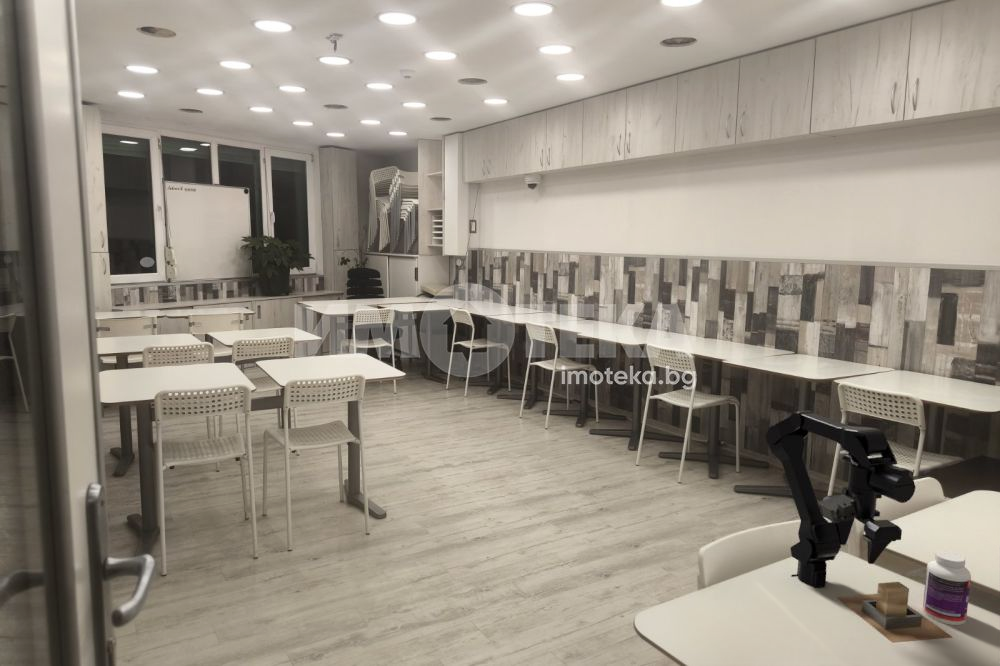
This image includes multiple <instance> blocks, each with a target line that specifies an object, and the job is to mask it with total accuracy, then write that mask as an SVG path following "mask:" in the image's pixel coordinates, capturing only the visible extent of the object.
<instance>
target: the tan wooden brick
mask: <svg viewBox="0 0 1000 666" xmlns="http://www.w3.org/2000/svg"><path fill="white" fill-rule="evenodd" d="M876 592H877V593H876V594H877V601H876V609H877V610H878V611H880V612H881V613H882V614H884V615H885V616H886V617H893V616H906V613H907V605H909V604H908V602H909V592H910V588H909V587H907V586H906V585H905V584H903V583H902V582H900V581H891V582H889V581H888V582H880V583H879V582H878V583H877V591H876Z"/></svg>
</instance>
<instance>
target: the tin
mask: <svg viewBox="0 0 1000 666" xmlns="http://www.w3.org/2000/svg"><path fill="white" fill-rule="evenodd" d="M876 601H877V600H864V601H862V610H861V611H862V612H864V613H865V614H866V615H867V616H869V617H870V618H871V619H872V620H874V621H875V622H876V623H877V624H879V625H880V626H881V627H882V628H884V629H885V630H888V629H900V628H913V627H921V621H922V616H921V615H922V614H921V613H920V614H921V615H920V614H918V613H917V612H918V611H917V612H915V611H914V610H915V609H914V608H913V609H914V610H913V609H911V608H910V607H911V606H910V607H908V606H907V613H906V616H893V617H886V616H885V615H884V614H882V613H881V612H880V611H878V610H877V609H876Z"/></svg>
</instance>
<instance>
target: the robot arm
mask: <svg viewBox="0 0 1000 666" xmlns="http://www.w3.org/2000/svg"><path fill="white" fill-rule="evenodd" d="M811 433H812V434H815V435H816V436H819V437H822V438H825V439H828V440H830V441H833V442H835V443H837V444H839V445H840V447H841V448H842V450H843V451H845V452H846V453H847V454H845V455H843V456H842V457H841V458H842V460H843V461H844V462H845V461H846V462H848V463H849V471H848V473H849V474H848V479H847V480H848V481H847V482H848V483H847V486H843V487H842V489H841V493H840V494H838V495H834V494H833V495H826V496H825V497H824V498H823V499H822V501H821V502H820V505H819V502H818V499H817V496H816V492H815V489H814V488H813V485H812V481H811V478H810V475H809V472H808V468H807V467H806V463H805V461H804V453H805V448H806V443H805V439H806V438H807V437H808V436H809V435H810V434H811ZM765 440H766V443H767V445H768V447H769V449H770V452H771V453H772V455H774V456H775V458H776V459H778V460H779V461H780V462H781V464H782V467H783V471H784V473H785V477H786V480H787V483H788V485H789V486H788V487H789V489H790V492H791V495H792V498H793V501H794V504H795V507H796V510H797V513H798V516H799V519H800V523H799V529H798V531H797V532H798V533H797V535H798V539H799V541H798V542H796V543H795V544H793V545H792V546H790V549H789V550H790V553H791V557H792V558H793V559H795V560H797V572H796V573H797V574H796V573H795V574H791V575H790V577H793V578H794V577H795V578H796V577H797V579H798V581H799V582H800V583H803V584H805V585H808V586H810V587H813V589H819V588H822V589H823V588H826V584H827V583H826V581H827V566H828V565H827V564H828V563H826V562H828V561H834V560H835V559H836V556H837V555H838V554H839V553H840V549H842V548H841V547H842V546H845V545H847V541H849V537H850V534H851V531H852V527H853V525H854V521H855V520H857V521H858V522H860V523H861V524H863V525H864V526H863V531H864V534H862V536H863V538H864V539H865V540H866V541H867V555H866V556H867V563H868V564H869V565H873V564H874V563H876V561H877V560H878V559H879V557H880V556H881V554H882V553H883V552H884V550H886V548H887V547H888V546H889V545H890V544H891V543H893V542H896V541H901V540H902V534H903V530H902V528H901V527H900V526H899V525H897V524H895V523H894V522H892V521H890V520H888V519H875V517H876V518H877V517H880V516H881V511H879V510H877V500H878V499H882V497H883V496H884V497H886V498H889V499H891V500H893V501H895V502H897V503H901V504H904V503H907V502H908V501H911V499H912V498H913V497H914V494H915V492H916V485H915V481H914V479H913V477H912V476H910V470H909V469H907V468H904V467H899V466H897V465H898V461H897V459H896V457H895V454H894V452H893V450H892V448H891V446H890V443H889V441H888V439H887V436H886V434H885V432H884V431H883V430H881V429H879V428H875V427H868V426H854V425H853V426H852V425H849V424H845V423H843V422H840V421H837V420H834V419H831V418H829V417H825V416H822V415H820V414H817V413H815V412H814V411H812V410H799V411H795V412H793V413H792V414H790V415H789V416H788V417H786V418H785V419H783V420H781V421H778V422H777V423H775V424H774V425H771V426H769V427H768V429H767V430H766V433H765ZM874 456H876V457H874ZM826 518H827V519H828V520H830V521H831V522H829V521H828V520H827V519H826Z"/></svg>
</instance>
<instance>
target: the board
mask: <svg viewBox="0 0 1000 666" xmlns="http://www.w3.org/2000/svg"><path fill="white" fill-rule="evenodd" d="M836 598H837V599H838V600H839V601H840V602H841V603H843V604H844V605H845V606H846V607H848V608H849V609H850V610H852V611H853V612H854V613H855V614H856V615H857V616H859V618H861V619H862V620H864V621H865V622H866V623H868V625H870V626H871V627H872V628H874V629H875V630H876V631H877V632H879V634H881V635H882V636H883V637H884V638H886V639H887V640H888V641H890V642H891V643H900V642H901V643H902V642H903V643H904V642H911V641H914V642H915V641H925V640H927V641H929V640H938V639H949V638H950V639H951V638H953V635H951V634H950V633H948V632H946V630H944V629H942V628H941V627H940V626H939V625H937V624H935V623H934V622H933V621H932V620H930V619H928V618H927V617H926V616H924V615H923V614H921V613H920V612H919V611H917V610H916V609H914V608H913V607H912V606H910V605H909V604H907V606H908V607H910V608H911V609H913V610H914V611H915V612H917V613H918V614H920V615H921V616H922V621H921V627H913V628H900V629H888V630H885V629H884V628H882V627H881V626H880V625H879V624H877V623H876V622H875V621H874V620H872V619H871V618H870V617H869V616H867V615H866V614H865V613H864V612H862V611H861V610H862V601H864V600H877V593H869V594H867V593H866V594H855V595H854V594H852V595H840V596H836Z"/></svg>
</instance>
